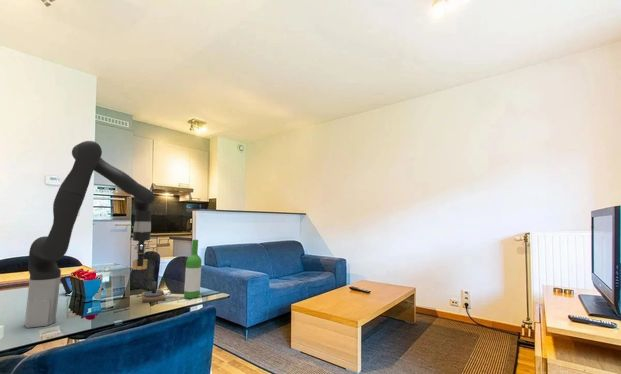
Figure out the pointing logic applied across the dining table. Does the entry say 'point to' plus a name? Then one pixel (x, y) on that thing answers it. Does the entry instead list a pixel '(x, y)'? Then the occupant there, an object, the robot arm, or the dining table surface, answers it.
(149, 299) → the bobbin stand
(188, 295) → the wine bottle
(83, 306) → the dining table surface
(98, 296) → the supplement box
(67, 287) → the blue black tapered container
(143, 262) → the brown ribbed pot
